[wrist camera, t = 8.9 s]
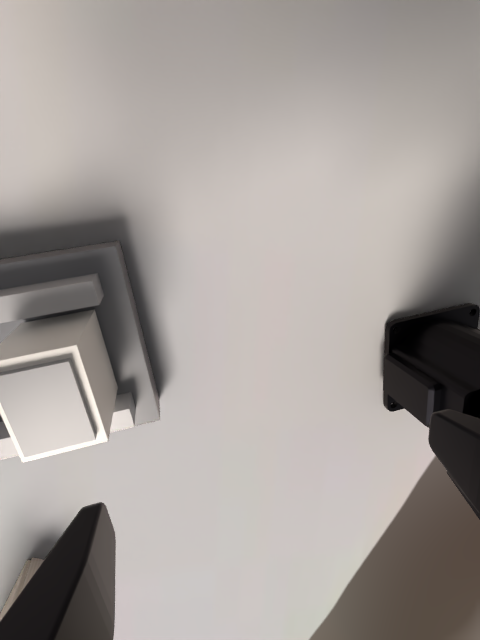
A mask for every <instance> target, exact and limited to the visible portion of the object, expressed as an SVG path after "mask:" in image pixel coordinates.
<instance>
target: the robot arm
mask: <svg viewBox="0 0 480 640" xmlns="http://www.w3.org/2000/svg"><path fill="white" fill-rule="evenodd" d="M470 311H471V312H470ZM479 312H480V309H479V307H478V306H477V305H475V304H472V303H468V304H464V305H459V306H455V307H450V308H446V309H441V310H437V311H432V312H428V313H423V314H419V315H415V316H410V317H406V318H401V319H397V320H393V321H390V322H389V323H388V324H387V326H386V329H385V357H384V379H383V390H384V406H385V407H386V408H387V409H388V410H389V411H397V410H400V409H404V408H405V409H406V410H407V411H408V412H410V413H411V414H412V415H413V416H414V417H416V418H417V419H418V420H419V421H420V422H422V423H423V424H424V425H425V426H427V427H428V428H429V444H430V447H431V449H432V451H433V452H434V453H435V455H436V456H437V457H438V459H439V460H440V462H441V463H442V464H443V465H444V467H445V468H446V470H447V474H448V475H449V477H450V478H451V479H452V481H453V482H454V484H455V485H456V487H457V488H458V489H459V491H460V492H461V494H462V495H463V496H464V498H465V499H466V501H467V502H468V504H469V505H470V506H471V508H472V509H473V511H474V512H475V514H476V515H477V516H478V518H479V519H480V330H479V329H477V327H478V320H479ZM395 327H396V329H395V330H394V331H393V329H394V328H395ZM115 549H116V540H115V532H114V528H113V525H112V522H111V519H110V517H109V514H108V511H107V508H106V506H105V504H104V503H102V502H99V503H96V504H92V505H88V506H85V507H83V508H82V509H81V510H80V511H79V512H78V514H77V515H76V517H75V518H74V519H73V521H72V522H71V524H70V525H69V526H68V528H67V529H66V530H65V532H64V533H63V535H62V536H61V537H60V539H59V540H58V542H57V543H56V544H55V546H54V547H53V548H52V550H51V551H50V553H49V554H48V555H47V557H46V558H45V560H44V561H43V562H42V564H41V565H40V567H39V568H38V569H37V571H36V572H35V573H34V575H33V576H32V578H31V579H30V580H29V582H28V583H27V585H26V586H25V587H24V589H23V590H22V591H21V593H20V594H19V596H18V597H17V598H16V600H15V601H14V603H13V604H12V605H11V607H10V608H9V610H8V611H7V612H6V614H5V615H4V616H3V618H2V619H1V621H0V640H113V636H114V620H115Z"/></svg>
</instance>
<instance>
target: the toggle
mask: <svg viewBox="0 0 480 640" xmlns="http://www.w3.org/2000/svg"><path fill="white" fill-rule="evenodd" d="M117 389H118V386H117V383H116V380H115V376H114V373H113V370H112V366H111V363H110V359H109V356H108V353H107V349H106V346H105V343H104V339H103V336H102V332H101V329H100V326H99V322H98V319H97V316H96V312H95V309H94V310H89V311H83V312H78V313H73V314H67V315H62V316H57V317H51V318H46V319H41V320H35V321H30V322H25V323H21V324H20V325H19V326H18V327H17V328H16V329H15V330H14V331H13V332H12V333H11V334H10V335H9V336H8V337H6V338H5V339H4V340H3V341H2V342H1V343H0V414H1V417H2V419H3V421H4V423H5V425H6V428H7V430H8V432H9V434H10V437H11V439H12V441H13V443H14V445H15V448H16V450H17V452H18V454H19V456H20V459H21V461H22V463H23V462H27V461H31V460H35V459H39V458H43V457H47V456H51V455H55V454H59V453H63V452H67V451H71V450H75V449H79V448H83V447H87V446H91V445H95V444H99V443H103V442H107V441H108V439H109V434H110V428H111V423H112V417H113V411H114V406H115V400H116V395H117Z"/></svg>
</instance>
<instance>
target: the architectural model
mask: <svg viewBox="0 0 480 640" xmlns="http://www.w3.org/2000/svg"><path fill="white" fill-rule="evenodd" d="M44 560H45V559H38V558H32V559H31V560H27V561H26V563H25V565H24V567H23V569H22V571H21V573H20V575H19V577H18V579H17V581H16V583H15V585H14V587H13V589H12V591H11V593H10V595H9V597H8V599H7V601H6V603H5V605H4V607H3V609H2V611H1V613H0V621H1V619H2V618H3V616H4V615H5V614H6V612H7V611H8V610H9V608H10V607H11V605H12V604H13V603H14V601H15V600H16V598H17V597H18V596H19V594H20V593H21V591H22V590H23V589H24V587H25V586H26V585H27V583H28V582H29V580H30V579H31V578H32V576H33V575H34V573H35V572H36V571H37V569H38V568H39V567H40V565H41V564H42V562H43V561H44Z"/></svg>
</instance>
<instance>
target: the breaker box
mask: <svg viewBox="0 0 480 640" xmlns="http://www.w3.org/2000/svg"><path fill="white" fill-rule="evenodd" d="M94 309H95V312H96V316H97V319H98V322H99V326H100V329H101V332H102V336H103V339H104V343H105V346H106V349H107V353H108V356H109V359H110V363H111V366H112V370H113V373H114V376H115V380H116V383H117V386H118V389H117V395H116V400H115V406H114V411H113V417H112V423H111V428H110V433H111V432H115V431H119V430H123V429H127V428H131V427H135V426H138V425H142V424H146V423H150V422H154V421H158V420H160V404H159V396H158V392H157V388H156V384H155V380H154V376H153V372H152V368H151V364H150V360H149V356H148V352H147V348H146V344H145V340H144V336H143V332H142V328H141V324H140V320H139V316H138V312H137V308H136V304H135V300H134V296H133V292H132V288H131V284H130V280H129V276H128V272H127V268H126V264H125V260H124V256H123V252H122V248H121V244H120V241H113V242H107V243H101V244H94V245H88V246H82V247H75V248H69V249H63V250H56V251H50V252H43V253H37V254H31V255H24V256H18V257H12V258H5V259H0V343H1V342H2V341H3V340H4V339H5V338H6V337H8V336H9V335H10V334H11V333H12V332H13V331H14V330H15V329H16V328H17V327H18V326H19V325H20V324H21V323H25V322H30V321H35V320H41V319H46V318H51V317H57V316H62V315H67V314H73V313H78V312H83V311H89V310H94ZM15 456H19V454H18V452H17V450H16V448H15V445H14V443H13V441H12V439H11V437H10V434H9V432H8V430H7V428H6V425H5V423H4V421H3V419H2V417H1V414H0V460H2V459H6V458H10V457H15Z"/></svg>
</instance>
